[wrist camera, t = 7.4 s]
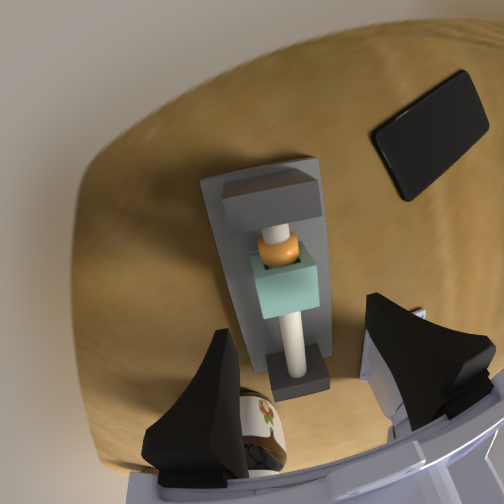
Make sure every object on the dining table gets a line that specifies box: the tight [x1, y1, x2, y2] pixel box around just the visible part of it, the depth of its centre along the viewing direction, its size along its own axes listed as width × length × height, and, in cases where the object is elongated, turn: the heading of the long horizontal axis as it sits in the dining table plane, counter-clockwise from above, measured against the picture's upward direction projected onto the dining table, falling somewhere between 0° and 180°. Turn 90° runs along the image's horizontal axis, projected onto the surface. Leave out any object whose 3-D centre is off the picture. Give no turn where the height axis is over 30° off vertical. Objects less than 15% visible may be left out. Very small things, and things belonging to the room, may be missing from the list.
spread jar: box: [175, 392, 287, 478], centre depth 25 cm, size 12×11×12 cm
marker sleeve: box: [250, 241, 320, 319], centre depth 17 cm, size 3×4×4 cm
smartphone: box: [371, 70, 489, 202], centre depth 17 cm, size 7×1×15 cm
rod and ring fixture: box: [200, 156, 332, 402], centre depth 20 cm, size 19×8×6 cm, turn 11°
